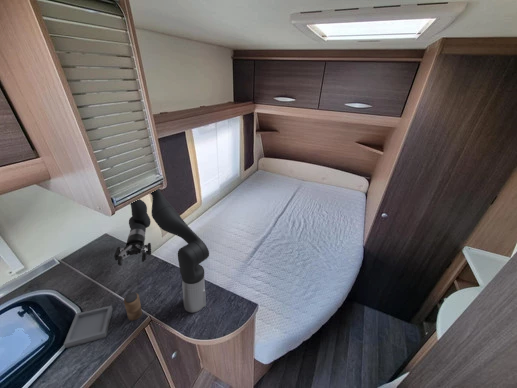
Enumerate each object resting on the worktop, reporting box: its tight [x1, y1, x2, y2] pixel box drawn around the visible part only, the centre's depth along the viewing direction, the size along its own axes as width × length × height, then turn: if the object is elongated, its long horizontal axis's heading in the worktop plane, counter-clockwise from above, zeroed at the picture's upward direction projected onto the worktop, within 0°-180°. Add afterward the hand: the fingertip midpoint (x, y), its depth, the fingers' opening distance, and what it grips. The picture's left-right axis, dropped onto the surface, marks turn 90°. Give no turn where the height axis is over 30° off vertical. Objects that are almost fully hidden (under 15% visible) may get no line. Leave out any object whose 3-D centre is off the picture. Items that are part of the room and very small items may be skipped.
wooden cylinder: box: [123, 291, 143, 322], centre depth 85 cm, size 5×5×11 cm
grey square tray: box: [63, 305, 113, 349], centre depth 80 cm, size 12×12×2 cm
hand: (131, 262), depth 88 cm, fingers open, 8 cm apart
